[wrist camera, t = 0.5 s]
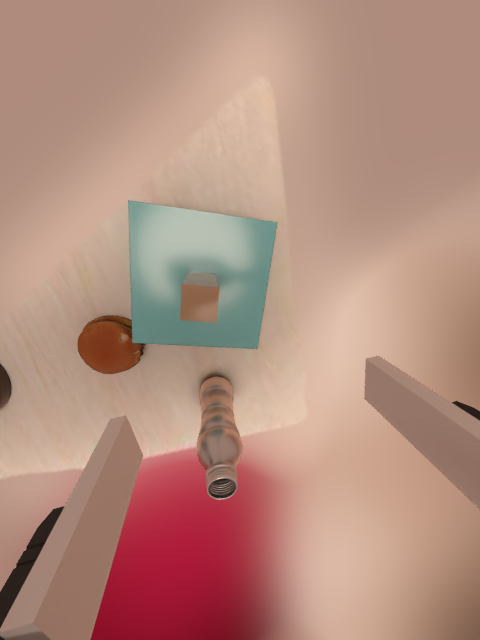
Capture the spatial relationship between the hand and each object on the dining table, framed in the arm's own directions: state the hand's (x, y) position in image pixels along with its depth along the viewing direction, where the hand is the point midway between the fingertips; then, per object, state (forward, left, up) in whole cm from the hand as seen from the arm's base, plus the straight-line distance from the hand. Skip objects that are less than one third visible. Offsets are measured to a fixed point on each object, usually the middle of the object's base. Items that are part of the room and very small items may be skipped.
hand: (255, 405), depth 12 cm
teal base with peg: (-3, +3, -28) cm, 29 cm away
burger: (-18, -10, -29) cm, 35 cm away
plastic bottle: (+1, -19, -29) cm, 34 cm away
